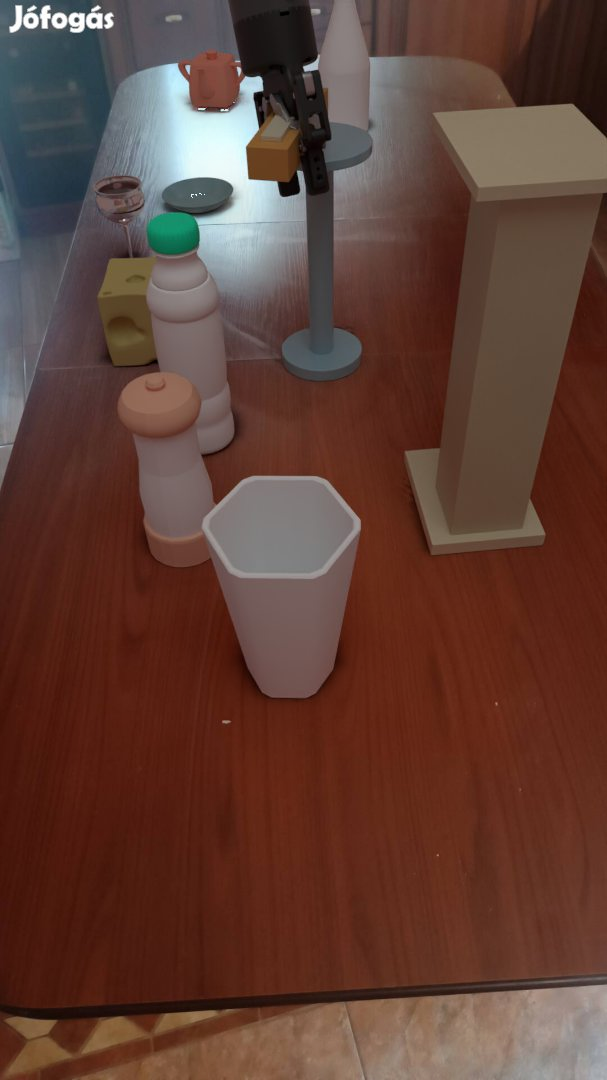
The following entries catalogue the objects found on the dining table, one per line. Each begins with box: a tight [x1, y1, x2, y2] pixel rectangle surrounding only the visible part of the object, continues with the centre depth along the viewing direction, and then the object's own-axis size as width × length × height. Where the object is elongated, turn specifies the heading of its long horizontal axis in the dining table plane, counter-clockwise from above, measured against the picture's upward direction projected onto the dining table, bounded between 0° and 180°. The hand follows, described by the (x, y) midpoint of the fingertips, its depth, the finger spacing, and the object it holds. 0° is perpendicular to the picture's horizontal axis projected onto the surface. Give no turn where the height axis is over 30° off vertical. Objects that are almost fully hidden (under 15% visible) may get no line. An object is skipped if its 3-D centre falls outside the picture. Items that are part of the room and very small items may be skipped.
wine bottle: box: [317, 0, 371, 132], centre depth 143 cm, size 10×10×30 cm
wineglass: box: [92, 174, 146, 258], centre depth 115 cm, size 7×7×12 cm
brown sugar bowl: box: [177, 49, 246, 110], centre depth 163 cm, size 14×12×10 cm
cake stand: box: [281, 122, 374, 382], centre depth 91 cm, size 11×11×26 cm
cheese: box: [96, 256, 158, 367], centre depth 100 cm, size 10×11×10 cm
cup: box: [201, 475, 362, 699], centre depth 62 cm, size 11×10×17 cm
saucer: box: [161, 176, 234, 214], centre depth 132 cm, size 12×12×2 cm
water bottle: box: [146, 211, 235, 456], centre depth 81 cm, size 7×7×25 cm
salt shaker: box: [116, 371, 218, 568], centre depth 72 cm, size 7×7×19 cm
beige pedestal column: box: [403, 103, 607, 556], centre depth 69 cm, size 14×11×35 cm
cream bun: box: [245, 88, 328, 182], centre depth 80 cm, size 17×4×4 cm, turn 166°
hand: (304, 195), depth 83 cm, fingers open, 8 cm apart
